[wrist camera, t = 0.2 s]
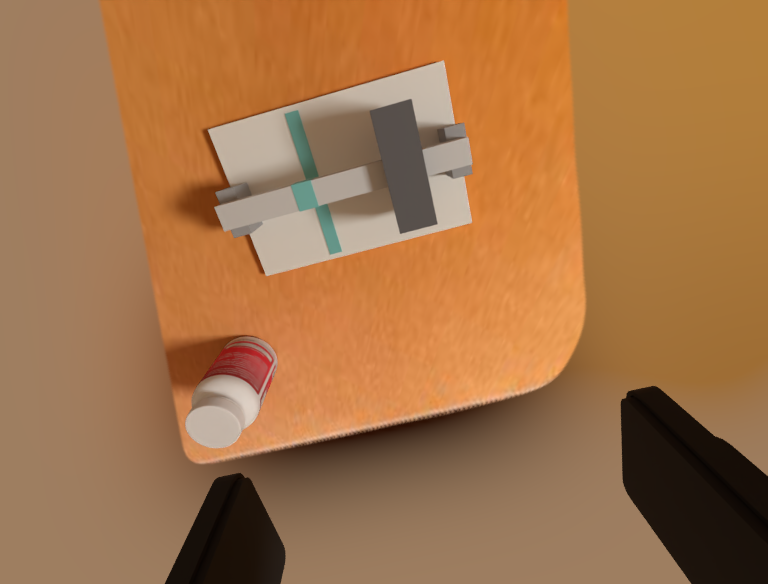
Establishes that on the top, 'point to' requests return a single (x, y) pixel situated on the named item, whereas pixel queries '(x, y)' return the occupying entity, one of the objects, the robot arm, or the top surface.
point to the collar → (404, 165)
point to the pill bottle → (231, 392)
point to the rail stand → (337, 171)
